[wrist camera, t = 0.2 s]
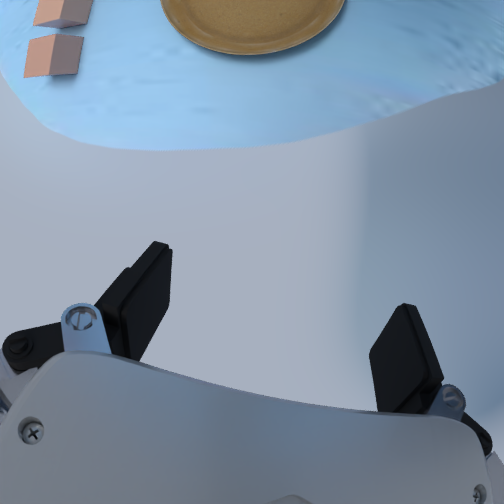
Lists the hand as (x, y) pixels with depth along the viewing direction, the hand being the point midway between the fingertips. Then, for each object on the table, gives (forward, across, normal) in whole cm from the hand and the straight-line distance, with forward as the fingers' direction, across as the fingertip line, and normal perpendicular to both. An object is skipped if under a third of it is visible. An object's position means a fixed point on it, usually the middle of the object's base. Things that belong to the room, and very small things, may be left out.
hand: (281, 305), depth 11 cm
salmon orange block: (+31, +40, -12) cm, 52 cm away
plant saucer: (+32, +10, -24) cm, 41 cm away
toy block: (+31, +40, -20) cm, 54 cm away
